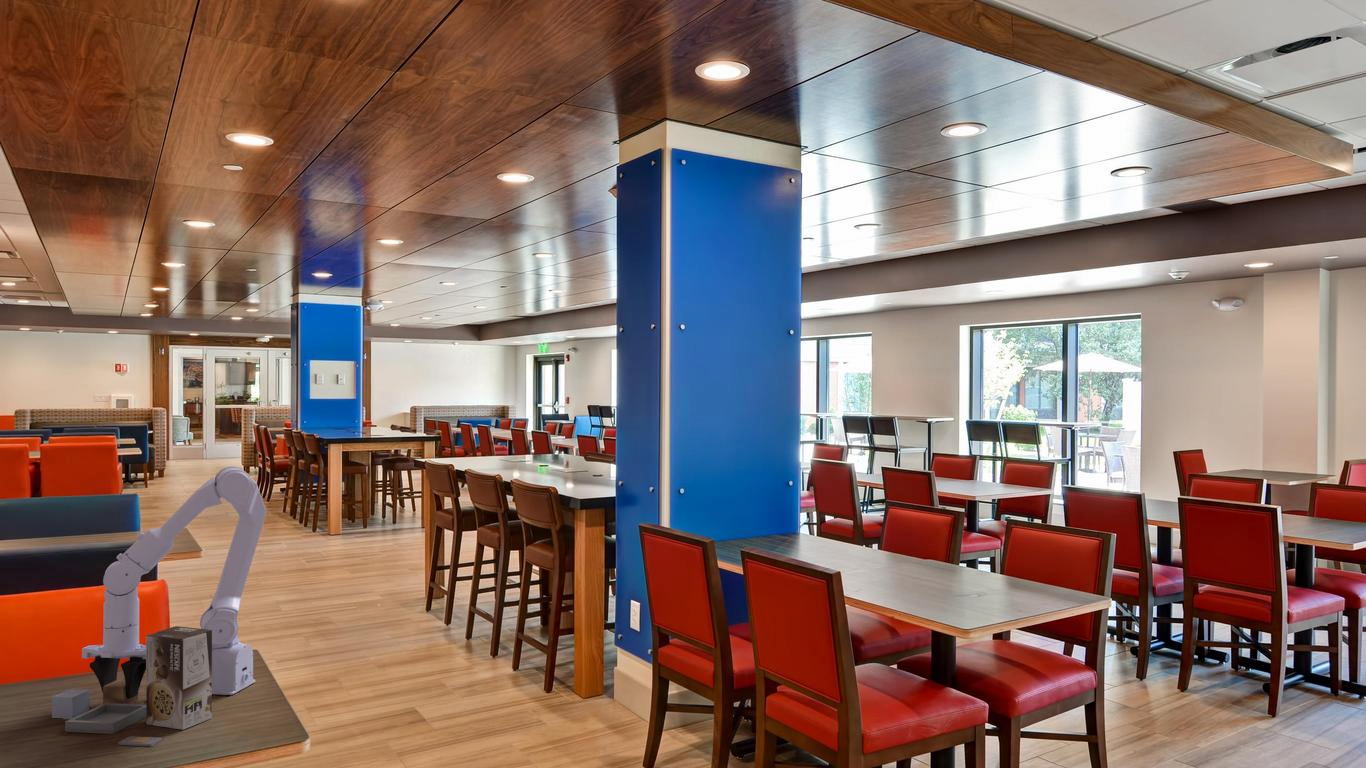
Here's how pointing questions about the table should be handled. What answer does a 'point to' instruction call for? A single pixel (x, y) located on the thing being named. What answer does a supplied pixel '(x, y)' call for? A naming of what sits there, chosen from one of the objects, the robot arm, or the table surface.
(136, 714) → the parts tray
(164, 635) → the coffee box
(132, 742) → the label tile
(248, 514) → the robot arm
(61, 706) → the slate block
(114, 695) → the walnut block
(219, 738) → the table surface
